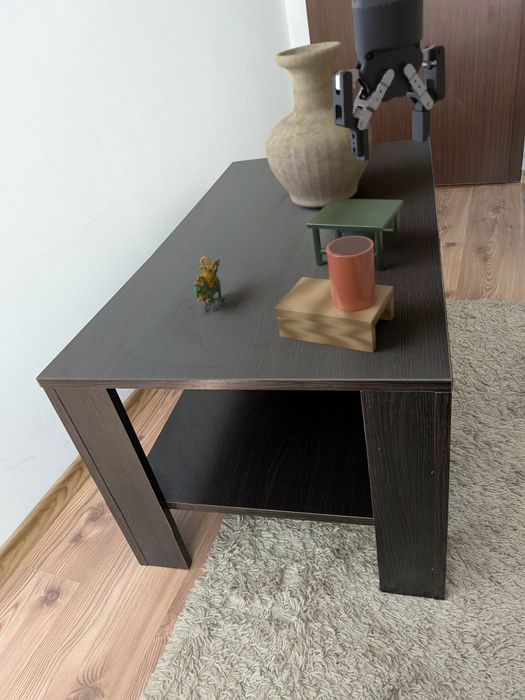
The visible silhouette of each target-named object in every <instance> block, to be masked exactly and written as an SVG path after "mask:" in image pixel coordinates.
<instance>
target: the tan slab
mask: <svg viewBox="0 0 525 700" xmlns="http://www.w3.org/2000/svg"><path fill="white" fill-rule="evenodd" d="M376 295H377V299H376V301H375V303H374V304H373V305H372V306H370V307H369V308H366V309H364V310H359V311H343V310H340V309H338V308H336V307H335V306H334V305H333V304H332V297H331V288H330V279H328V278H327V279H326V278H318V277H317V278H316V277H308V276H307V277H306V276H302V277H301V278H300V279H299V280H298V281H297V282H296V283H295V285H294V286H293V287H292V288H291V289H290V290H289V291H288V293H287V294H286V295H285V296H284V297H283V298H282V299H281V301H280V302H279V303H278V304H277V305H276V306H275V308H274V310H275V315H276V321H277V326H278V331H279V337H280V338H283V339H290V340H296V341H302V342H307V343H314V344H320V345H324V346H325V345H326V346H330V347H331V346H332V347H337V348H343V349H349V350H355V351H361V352H367V353H372V354H374V352H375V350H376V348H377V342H376V341H377V340H376V325H377V324H378V321H379V320H384V321H393V319H394V317H395V301H394V300H395V298H394V286H393V285H384V284H376Z"/></svg>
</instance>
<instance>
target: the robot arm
mask: <svg viewBox="0 0 525 700" xmlns="http://www.w3.org/2000/svg"><path fill="white" fill-rule="evenodd" d="M351 8H352V10H351V11H352V24H353V39H354V49H355V50H354V51H355V54H356V57H357V59H356V65H355V68H352V69H347V70H343V69H336V70H334V71H333V73H332V74H331V76H332V87H333V108H334V123H335V125H337V126H341V127H344V128H349V130H350V136H351V149H352V154H353V156H356V158H357V159H358V160H361V161H366V160H369V161H370V158H369V139H368V129H366V126H367V124H368V122H370V119H371V118H372V115H373V114H374V113H376V111H377V110H378V108H379V106H380V104H381V103H386V102H390V101H391V100H393V99H394V98H403V97H406V98H407V100H408V101H409V102H410V103H411V105H412V106H413V108H414V109H411V138H412V141H413V142H415V143H420V144H422V143H425V142H427V141H428V137H429V135H430V133H431V111H432V108H433V106H434V104H436V103H437V102H438V101H443V100H444V99H445V98H446V92H447V91H446V48H445V46H444V45H440V44H431V45H430V44H428V45H427V44H426V46H424V48H423V49H422V47H421V41H422V40H423V38H424V0H351ZM421 67H423V74H424V75H423V80H424V81H423V80H422V79H421V77H420V76H419V75H418V73H419V71H420V69H421ZM357 82H358V84H359V85H360V88H359V89H358V93H357V95H356V96H355V99H354V89H355V88H356V86H357V84H356V83H357Z"/></svg>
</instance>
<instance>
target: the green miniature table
mask: <svg viewBox="0 0 525 700" xmlns="http://www.w3.org/2000/svg"><path fill="white" fill-rule="evenodd" d="M403 206H404V199H373V198H372V199H368V198H349V199H332V200H331V201H330V202H328V203H327V204H326V205H325V206H324V207H321V209H320V210H319V211H318V212H317V213H316V214H315V215H314V216H313V217H312V218H311V219H310V220H309V221H308V222H307V223H306V227H307V229H311V233H312V240H313V248H314V256H315V263H316V266H322V265H324V259H323V258H324V257H323V255H324V256H327V253H326V248H322V243H321V234H320V230H334V236H335V240H336V239H339V238H342V237H343V233H346V234H363V235H364V234H365V235H374V257H375V271H376V272H382V271H384V269H385V267H384V266H385V265H384V263H385V262H384V242H383V235H386V236H392V246H393V247H395V248H399V247H400V246H401V225H400V224H401V222H400V221H401V220H400V219H401V217H400V215H401V214H400V209H401V208H402V207H403ZM391 221H392V228H386V227H387V226H388V225H389V224H390V222H391Z"/></svg>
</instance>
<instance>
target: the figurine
mask: <svg viewBox="0 0 525 700" xmlns="http://www.w3.org/2000/svg"><path fill="white" fill-rule="evenodd" d="M204 260H206V261H207V263H204ZM220 261H221V260H220V258H218V259H217V258H216V259H215V260H214V261H212V262H211V260H210V258H209V257H208V256H202V257H201V258H200V259H199V262H200V264H201V265H200V266H199V267H198V269H199V270H200V271H202V270H203V271H202V272H201V274H200V275H199V274H198V275H197V276H196V282H193V286H194V287H193V291H194V293H195V294H194V297H195V299H198V300H197V301H196V304H199V303H200V302H201V301H202V302H203V306H204V308H203V309H202V311H205V312H207V311H208V303H209V302H210V303H211V306H212V308H211V312H214V311H216V310H217V309H216V302H222V301H223V299H222V286H221V280H220V279H219V277H218V276H217V275H218V274H217V273H218V271H219V269H218V268H219V266H220ZM216 294H217V296H218V297H217V299H215V297H214V296H215V295H216ZM215 300H216V301H215Z"/></svg>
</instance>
